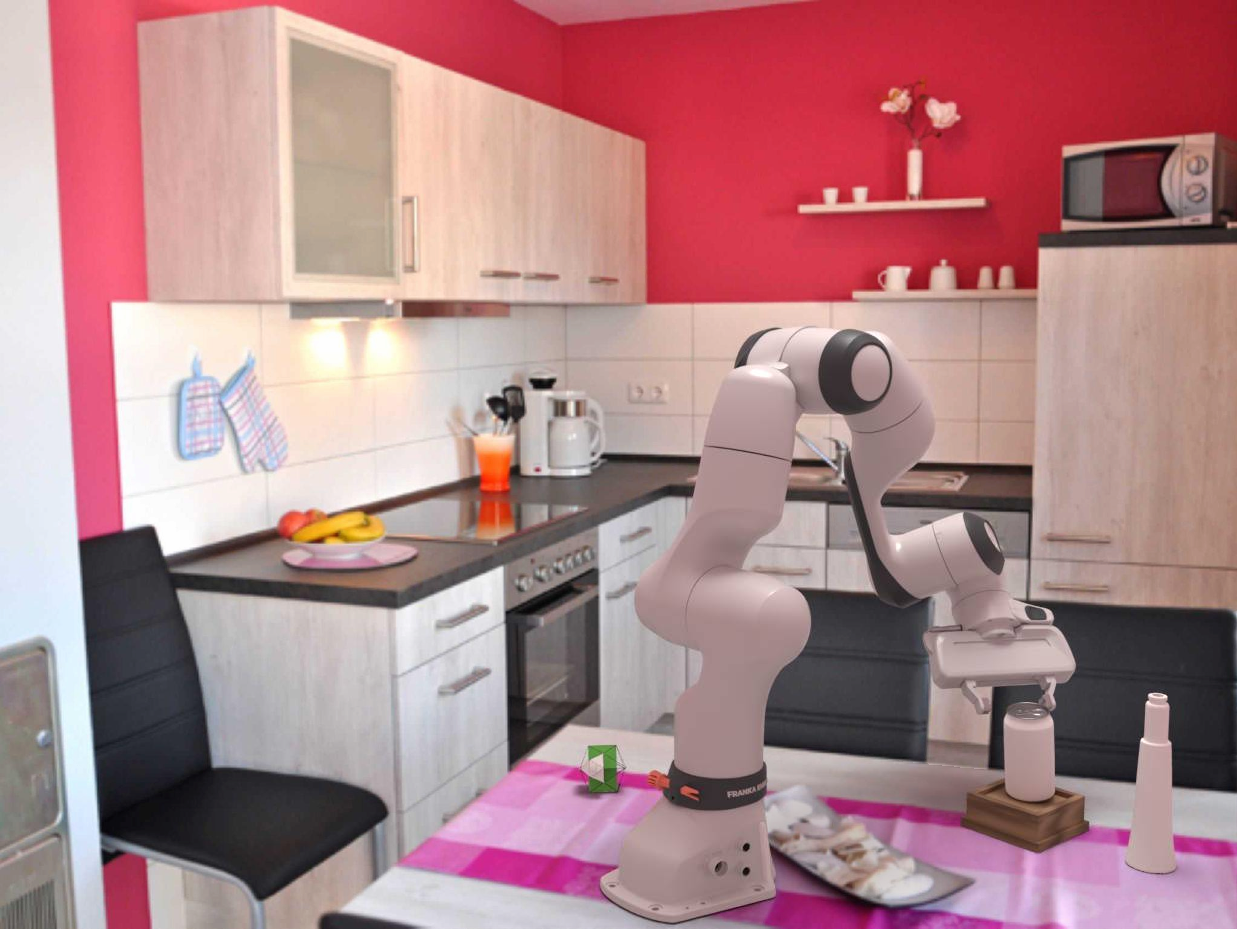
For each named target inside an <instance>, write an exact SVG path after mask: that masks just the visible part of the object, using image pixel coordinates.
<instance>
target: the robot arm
mask: <svg viewBox="0 0 1237 929" xmlns="http://www.w3.org/2000/svg"><path fill="white" fill-rule="evenodd" d="M803 414H804V415H813V416H815V415H817V416H819V415H825V416H826V415H842V417H843V418H844V420H845V422H846V425H847V427H848V430H849V432H850V436H851V447H850V450H848V452H847V453H846V454H845V456H844V457H843V474H844V475H843V476H844V481H845V485H846V488H847V493H848V496H849V502H850V504H851V508H852V512H853V515H854V519H855V523H856V525H857V529H858V533H859V536H860V540H861V543H862V546H863V549H864V550H863V551H864V554H865V557H866V570H867V575H868V579H869V583H870V584H871V587H872V590H873V592H874V593H875V595H876V596H877V597H878V599H879V600H880V601H882V602H883V603H885V604H888V605H890V606H893V607H896V608H899V609H905V608H907V607H910V606H912V605H914V604H917V603H919V602H921V601H922V600H924V599H926V598H928V597H930V596H933V595H937V594H939V593H942V592H945V593H946V595H947V596H948V597H949V599H950V602H951V606H950V608H951V614H952V618H953V621H954V625H953V624H952V625H943V626H941V625H933V626H930V627H929V628H928V629H926V630H925V631H924V632H923V634H922V642H923V645H924V648H925V650H926V652H927V653H928V660H929V667H930V669H929V670H930V673H931V678H932V682H933V684H934V685H936V687H938V688H939V689H941V690H947V689H948V690H951V689H960V690H961V693H962V695H963V696H964V697H965V698H966V699H967V700H968V701H969V702H970V703H971V704H972V705H974V709H975V711H976V715H979V716H981V715H989V713H990V712H991V711H992V710H991V709H992V705H991V704H990V700H989V697H982V695H981V694H980V693H979V692H978V691H977V689H976V688H987V687H988V688H989V687H990V688H992V687H1010V686H1028V685H1029V686H1030V685H1032V686H1033V685H1039V686H1040V688H1041V690H1042V691H1045V692H1044V694H1042V695H1041V698H1039V699H1038V704H1041V705H1044V706H1046V707H1048V708H1049V710H1050V712H1053V711H1054V710H1055V709H1056V707H1057V703H1056V702H1057V701H1056V700H1055V697H1054V693H1055V689H1056V687H1057V684H1065V683H1067V682H1068V681H1069V680H1070V679H1071V677H1072V676H1073V675H1074V673H1075V671H1076V669H1077V668H1076V667H1077V663H1076V661H1075V657H1074V655H1073V652H1072V649H1071V648H1070V645H1069V643H1068V641H1067V638H1066V637H1065V635H1064V634H1063V632H1062V631H1061V630H1060V629H1059V628H1058V627H1056V626H1054V625H1053V623H1054V621H1055V617H1054V614H1053V612H1052V610H1050V609H1048V608H1045V607H1040V606H1036V605H1033V604H1029V603H1025V602H1022V601H1019V600H1017V599H1013V596H1012V594H1011V592H1010V590H1008V588H1007V586H1006V583H1005V572H1004V566H1005V564H1006V563H1005V562H1006V559H1005V556H1004V555H1003V552H1002V549H1001V545H1000V543H999V540H998V536H997V533H996V531H995V529H994V527H993V525H991V523H990V521H989V520H987V519H986V518H984V517H982V516H980V515H978V514H975V513H972V512H970V511H963V512H959V513H954V514H952V515H949V516H946V517H943V518H941V519H938V520H936V521H935V520H934V521H933V522H932V523H928V524H927V525H926V524H925V525H923V526H920V527H919V528H915V529H913V530H911V531H908V532H905V533H901V534H890V533H889V529H888V526H887V522H886V518H885V514H884V512H883V507H882V503H881V501H882V498H883V495H884V494H885V493H886V491H887V490H888V489H889V488H890V487H891V486H892V485H893V484H894V483H895V482H896V481H897V480H898V479H900V478H901V477H902V476H903V475H904V474H905V473H907V472H908V471H909V470H911V469H912V468H914V467H915V465H917V464H918V463H919V461H921V459H922V458H923V457H924V455H925V454H926V453H927V451H928V449H929V448H930V445H931V444H932V442H933V438H934V435H935V431H936V419H935V417H934V412H933V409H932V406H931V404H930V401H929V398H928V396H927V394H926V391H925V390H924V388H923V386H922V384H921V382H920V380H919V378H918V376H917V374H916V372H915V371H914V369H913V367H912V366H911V364H910V362H909V361H908V360H907V358H906V356H905V355H904V354H903V352H902V351H901V350H900V348H899V347H898V346H897V345H896V344H895V342H894V341H893V339H891V338H890V336H888V335H887V334H885V333H883V332H879V331H876V330H864V331H862V330H858V329H855V328H854V329H853V328H845V329H840V328H839V329H837V328H831V327H820V326H816V325H800V326H788V327H783V328H782V327H776V326H775V327H769V328H766V329H762V330H759V331H757V332H754V333H753V334H751V335H750V336H748V337H747V338H746V340H745V341H744V342H743V343H742V345H741V347H740V348H739V350H738V352H737V356H736V358H735V360H734V366H733V369H732V370H730V371H729V372H728V373H727V374H726V375H725V376H724V378H723V380H722V382H721V385H720V387H719V390H718V392H717V395H716V397H715V401H714V403H713V405H712V410H711V412H710V415H709V418H708V419H709V420H708V422H707V427H706V430H705V435H704V441H703V445H702V446H703V447H702V450H701V456H700V462H699V466H698V472H697V476H696V481H695V486H694V491H693V496H692V499H691V503H690V506H689V509H688V512H687V515H686V517H685V519H684V522H683V525H682V526H681V528H680V530H679V531H678V533H677V535H676V537H675V538H674V540H673V542H672V543H671V545H670V546H669V548H668V549H667V550H666V552H665V553H664V554H663V555H662V556H661V557H660V558H659V559H657V560H656V561H654V562H653V563H651V564H650V565H649V566H647V567H646V568H645V570H643V572H642V574H641V575H640V577H639V578H638V581H637V584H636V585H635V590H634V596H633V598H634V599H633V604H634V610H635V614H636V616H637V619H638V620H639V622H640V623H641V624H642V626H644V627H645V628H646V629H648V630H649V631H651V632H652V633H653V634H655V635H656V636H658V637H660V638H661V639H662V640H664V641H666V642H668V643H670V644H673V645H675V646H681V647H684V648H687V649H691V650H694V651H697V652H700V654H701V657H702V663H701V670H700V675H699V677H698V680H697V682H696V683H695V684H692V685H691V686H690V687H688V688H687V689H685V690H684V691H683V692H682V693H681V694H680V695H679V696H678V698H677V699H676V701H675V702H674V703H675V704H674V706H673V712H674V713H673V715H674V716H673V717H674V718H673V722H674V725H673V727H674V728H673V744H674V745H673V759H672V760H671V763H670V766H669V769H668V772H667V774H666V773H662V772H660V771H658V770H656V769H653V770H651V771H650V772H649V773H648V775H647V779H646V781H647V784H648V785H649V787H652V788H656V789H657V790H659V791H662V796H660V798H659V799H658V800H657V801H656V802H655V804H654V805H653V806H652V807H651V808H650V809H649V811H647V812H646V814H644V816H643V817H642V818H641V819H640V821H638V822H637V824H636V825H635V826H634V827H633V828H632V829H631V830H630V831H629V832H628V833H627V834H626V835H625V837H624V839H623V842H622V846H621V849H620V853H619V854H620V856H619V864H618V865H619V866H618V867H617V868H616V869H614V870H611V871H610V872H607V873H606V874H604V875H602V876H601V877H600V883H599V887H600V889H601V891H602V893H603V894H604V895H605V896H606V897H607V898H608V899H610V900H611V901H612V902H613V903H615V904H616V905H618V906H620V907H622V908H624V909H626V910H627V911H629V912H631V913H634V914H636V915H639V916H642V917H644V918H647V919H651V920H653V921H654V920H655V921H659V922H664V923H673V924H674V923H678V922H683V921H687V920H691V919H694V918H698V917H699V918H700V917H703V916H706V915H710V914H714V913H718V912H723V911H725V910H729V909H734V908H737V907H741V906H742V907H743V906H746V905H749V904H753V903H757V902H760V901H764V900H769V899H772V898H774V897H776V895H777V892H776V891H777V890H776V885H775V882H774V881H775V879H776V876H777V872H776V868H775V865H774V862H773V858H772V855H771V854H772V853H771V849H770V842H769V841H770V840H769V832H768V823H767V817H766V811H765V810H766V808H765V797H766V795H767V792H768V782H769V781H768V780H769V779H768V776H767V775H768V774H767V772H768V770H767V764H766V762H765V761H764V747H765V746H764V745H765V744H764V743H765V742H764V740H765V737H764V736H765V723H766V722H765V718H766V708H767V702H768V698H769V696H770V695H769V694H770V691H771V689H772V686H773V684H774V681H775V680H776V678H777V676H778V675H779V674H780V671H782V670H783V668H785V667H786V666H788V665H789V664H790V663H791V662H793V661H795V660H796V659H797V658H798V656H799V655H800V654H801V652H803V650H804V648H805V646H806V645H807V643H808V641H809V636H810V634H811V627H812V617H811V616H812V615H811V610H810V606H809V603H808V601H807V600H806V597H805V596H804V595H803V593H802V592H800V591H799V590H798V589H796V588H795V587H793V586H791V585H789V584H787V583H785V582H783V581H781V580H780V579H778V578H775V577H773V576H772V575H769V574H765V573H761V572H756V571H751V570H746V569H743V566H744V564H745V562H746V559H747V556H748V555H749V554H750V551H751V550H752V548H753V547H754V545H755V544H756V543H757V542H758V541H759V540H760V539H762V538H763V537H765V536H767V535H769V534H771V533H772V532H774V531H775V530H776V529H777V528H778V526H779V525H780V523H781V522H782V518H783V515H784V509H785V508H784V506H785V503H786V497H787V491H788V487H789V486H788V485H789V479H790V474H791V468H792V462H793V456H794V451H795V444H796V443H795V442H796V435H797V434H796V432H797V431H796V430H797V423H798V422H799V420H800V418H801V417H802V415H803Z"/></svg>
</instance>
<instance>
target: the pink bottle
mask: <svg viewBox="0 0 1237 929" xmlns="http://www.w3.org/2000/svg"><path fill="white" fill-rule="evenodd" d="M1147 699H1148V700H1147V701H1145V708H1144V712H1145V713H1144V733H1143V737H1142V738H1141V739H1140V741H1139V750H1138V758H1137V759H1138V760H1137V770H1136V782H1135V791H1134V802H1133V810H1132V811H1133V813H1132V821H1131V827H1130V828H1131V829H1130V833H1129V839H1128V844H1127V850H1126V853H1125V857H1124V861H1125V863H1126V864H1127V865H1128V866H1129V867H1131V868H1132V867H1133V869H1135V870H1137V871H1141V872H1143V871H1144V872H1143V873H1149V874H1156V873H1160V874H1161V873H1163V874H1168V873H1172V872H1174V871H1176V869H1177V860H1176V852H1175V844H1174V832H1173V830H1174V829H1173V828H1174V827H1173V766H1172V765H1173V764H1172V763H1173V758H1172V757H1173V755H1172V754H1173V753H1172V742H1171V741H1170V740H1169V724H1170V722H1169V721H1170V705H1169V703H1168V702H1167V701H1168V696H1167V695H1166V694H1163V693H1159V692H1153V693H1148V695H1147ZM1160 874H1159V875H1160Z"/></svg>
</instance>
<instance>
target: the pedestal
mask: <svg viewBox="0 0 1237 929" xmlns="http://www.w3.org/2000/svg"><path fill="white" fill-rule="evenodd" d="M1085 800H1086V796H1085V795H1083V794H1079V793H1075V792H1072V791H1069V790H1066V789H1063V788H1060V787H1057V786H1055V793H1054V795H1053V796H1052V797H1051V798H1050V799H1048V800H1046V801H1042V802H1033V803H1032V802H1023V801H1019V800H1016V799H1014V798H1012V797H1011V796H1010V795H1009V794H1008V793H1007V792H1006V788H1005V777H1004V778H1001V779H999V780H995V781H994V782H993V781H992V782H991V783H987V784H985V785H983V786H980V787H978V788H975V789H972V790H970V791H967V792H966V810H965V812H966V814H964V815H963V816H961V817H960V827H964V828H966V829H969V830H973V831H974V832H975V831H976V832H978V833H980V834H984V835H986V836H989V837H991V836H992V837H991V838H993V839H994V838H995V839H998V840H1001V841H1003V842H1005V843H1009V844H1011V845H1014V846H1017V847H1020V848H1023V849H1025V850H1028V851H1030V852H1034V853H1036V854H1039V853H1042V852H1043V851H1046V850H1048V849H1050V848H1052V847H1055V846H1057V845H1059V844H1061V843H1063V842H1066V841H1068V840H1070V839H1072V838H1074V837H1076V836H1079V835H1081V834H1083V833H1086V832H1088V831H1090V821H1089V820H1086V819H1085V806H1086V801H1085Z"/></svg>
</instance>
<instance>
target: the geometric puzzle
mask: <svg viewBox="0 0 1237 929" xmlns="http://www.w3.org/2000/svg"><path fill="white" fill-rule="evenodd" d="M618 748H619V747H618V746H617V744H607V745H606V744H602V745H598V744H597V745H590V744H589V745H588V744H587V748H586V750H585V753H584V756H583V758H582V762H581V764H580V767H579V769H578V770H579V772H580V773H581V777H582V778H583V782H584V784H585V786H586V788H587V791H588V793H589V792H591V793H606V792H605V791H618V792H619V790H620V789H619V788H620V785H621V782H622V780H623V778H624V775H625V771H626V769H627V768H628V767H626V765H625V764H624V763H625V762H624V759H623V757H622V756H621V753H620V750H619V749H618ZM617 751H618V755H619V757H620V761H621V762H622V764H621V763H620V762H618V761H617ZM586 753H587V757H588V758H587V762H586V763H584V764H583V761H584V759H585V756H586ZM582 765H583V766H582ZM618 766H619V767H618ZM618 769H621V770H620V771H618ZM622 771H623V772H622ZM621 772H622V774H621V778H620V781H619V784H618V774H620V773H621ZM583 773H584V774H585V775H587V776H588V784H587V783H586V780H585V777H584V775H583ZM587 785H588V786H587Z"/></svg>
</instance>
